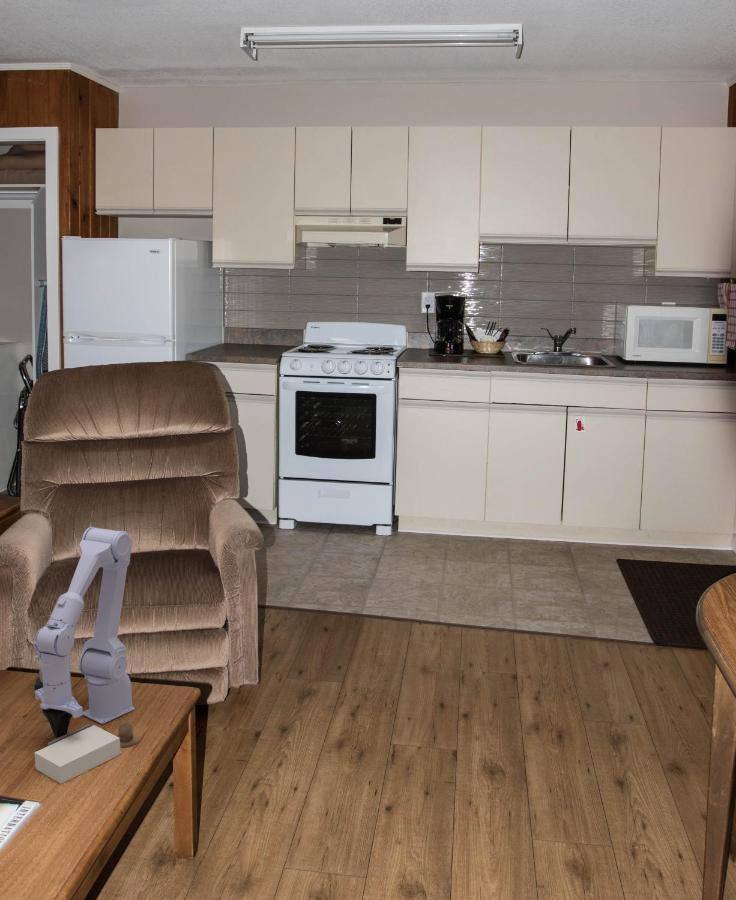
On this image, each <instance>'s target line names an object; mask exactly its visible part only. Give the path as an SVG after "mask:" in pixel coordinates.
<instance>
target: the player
mask: <svg viewBox="0 0 736 900" xmlns="http://www.w3.org/2000/svg"><path fill="white" fill-rule="evenodd" d="M120 755H121V748H120V738H119V737H117V735H114V734H113V733H112V732H111V733H110V732H109V731H107V730H104V728H101V727H98V726H97V725H91V727H89V728H87V729H84V730H82V731H80V732H78V733H76V734H74V735H71V736H69V737H67V738H65V739H63V740H61V741H58V742H56V743H54V744H52V745H50V746H48V745H47V746H45V747H43V748H42V749H39V750H37V751H35V752H34V762H35V763H34V764H35V769H36V771H38V772H40V773H42V774H43V775H45V776H47V777H48V778H50V779H52V780H54V781H56V782H57V783H59V784H61V785H62V784H64V783H66V782H68V781H70V780H72V779H74V778H76V777H78V776H79V775H82V774H84V773H86V772H89V771H90V770H91V769H94V768H95V767H98V766H99V765H102V764H104V763H105V762H107V761H109V760H112V759H113V758H114V759H115V758H116V757H118V756H120Z"/></svg>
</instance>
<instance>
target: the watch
mask: <svg viewBox="0 0 736 900" xmlns="http://www.w3.org/2000/svg"><path fill="white" fill-rule="evenodd" d="M35 660H38V662H39V664H38V665H39V667H38V668H39V672H38V673H39V674H38V675H39V677H37V678H36V681H35V683H34V692H35V691H36V690H38V689H41V688H43V677H42V664H41V660H40V659H39V656H38V653H37V655H35Z"/></svg>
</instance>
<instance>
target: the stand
mask: <svg viewBox="0 0 736 900" xmlns="http://www.w3.org/2000/svg"><path fill="white" fill-rule="evenodd" d="M117 729H118V734H117V735H116V736H117V737H119V738H120V749H121V748H123V749H125V748H131V747H134V746H135V745H137V744H138V743H139V742H140V736H139V735H138V734H137V733H135V732H133V731H134V729H133V724H132V723H128V722H126V723H122V724H119V725H118V728H117Z"/></svg>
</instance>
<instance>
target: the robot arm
mask: <svg viewBox="0 0 736 900" xmlns="http://www.w3.org/2000/svg"><path fill="white" fill-rule="evenodd" d="M132 547H133V539H132V538H131V536H130V535H129V534H128V532H127V531H125V530H113V529H108V528H107V529H106V528H100V527H95V526H90V527H87V529H85V530H84V532H83V534H82V537H81V541H80V542H79V552H80V554H81V555H80V557H79V560H78V563H77V565H76V569H75V571H74V574H73V576H72V579H71V582H70V585H69V586H68V590H67V592H65V593H63V594H61V595H60V596H59V597H58V598H57V601H56V603H55V605H54V608H53V610H52V611H51V614H50V616H49V618H48V620H47V622H46V624H45V626H43V627H41V628H39V630H37V632H36V634H35V637H34V642H33V645H32V646H33V648H34V650H35V651H36V652H37V654H38V655H37V656H39V659H40V660H41V664H42V677H43V688H41V689H38V690H36V691H35V690H34V699H35V700H37V701H39V700H40V701H41V703H40V704H39V706H40V707H39V708H41V709H42V714H43V715H44V716H45V718H46V720H47V721H48V723H49V726H50V728H51V730H52V734H53V736H54V738H55V739H57V738H59V737H62V736H64V735H66V734H68V730H69V725H70V722H71V719H72V718H73V719H76V718H79V717H81V716H84V717H86V718H89V719H90V720H92V721H94V722H96V723H99V724H100V725H104V724H107V723H109V722H110V721H113V720H115V719H117V718H119V717H121V716H124V715H125V714H128V713H129V712H131V711H134V710H135V709H136V708H135V706H133V693H132V682H131V681H132V680H131V679H130V676H129V675H128V673H126V671H127V667H128V662H127V647H126V646H125V644H124V643H123V642H122V641H121V640H120V639H119V638H118V636H119V628H120V621H121V614H122V607H123V601H124V594H125V593H124V592H125V587H126V586H125V585H126V578H127V571H128V566H130V562H131V555H132ZM100 568H102V569H103V570H102V577H101V584H100V590H99V591H100V592H99V596H98V598H99V599H98V605H97V611H96V619H95V624H94V625H95V626H94V633H93V636H92V637H91V638H89V639H88V640H86V641H85V642H84V643H83V649H82V652H81V654H80V656H79V658H78V664H77V665H78V669H79V672H80V673H81V674H82V675H84V680H86V681H87V693H88V694H87V695H88V709H86V710H84V711H83V706H81V705H80V704H79V703H78V701H77V700H76V698H75V697H74V695H72V694H73V693H72V692H73V691H72V677H71V667H70V666H71V665H70V654H69V653H70V652H71V650H72V649H73V647H74V645H75V635H76V629H75V627H76V626H77V623H79V622H78V621H79V619H80V617H81V615H82V613H83V611H84V608H85V606H86V605H85V602H84V596H85V594H86V592H87V591H88V589H89V587H90V585H91V583H92V582H93V580H94V578H95V576H96V574H97V572H98V571H99V569H100Z"/></svg>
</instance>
